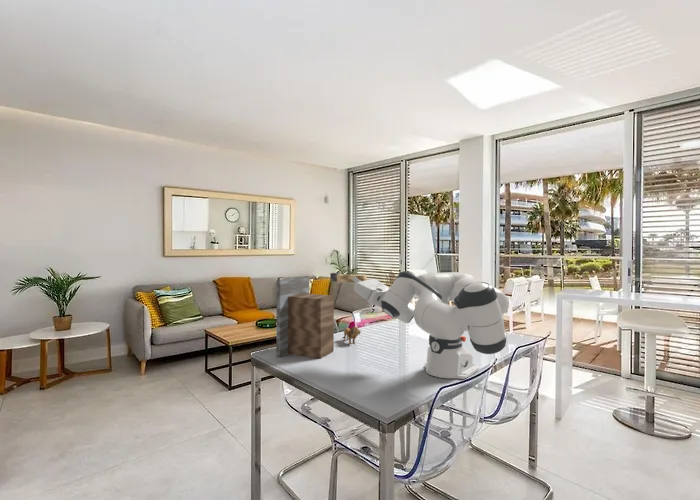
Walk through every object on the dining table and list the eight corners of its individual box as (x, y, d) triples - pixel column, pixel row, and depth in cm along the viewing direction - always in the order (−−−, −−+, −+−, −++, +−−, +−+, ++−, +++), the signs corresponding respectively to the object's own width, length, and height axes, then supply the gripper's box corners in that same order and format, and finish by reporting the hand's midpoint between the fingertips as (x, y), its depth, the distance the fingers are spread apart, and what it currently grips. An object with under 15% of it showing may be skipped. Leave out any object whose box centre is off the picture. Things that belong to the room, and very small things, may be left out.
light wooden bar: (367, 282, 160) (367, 273, 160) (363, 283, 157) (363, 274, 157) (334, 280, 167) (334, 272, 167) (330, 281, 164) (330, 273, 164)
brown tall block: (339, 348, 178) (339, 277, 177) (313, 362, 156) (313, 281, 156) (305, 343, 186) (305, 275, 186) (276, 356, 164) (276, 279, 164)
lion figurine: (362, 344, 184) (362, 326, 184) (353, 346, 181) (353, 328, 181) (346, 338, 197) (346, 321, 197) (337, 339, 194) (337, 322, 194)
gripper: (393, 286, 164) (368, 269, 169) (376, 291, 146) (348, 272, 151) (386, 298, 166) (361, 281, 171) (368, 305, 147) (341, 286, 152)
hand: (355, 277), depth 161 cm, fingers closed on light wooden bar, 3 cm apart
